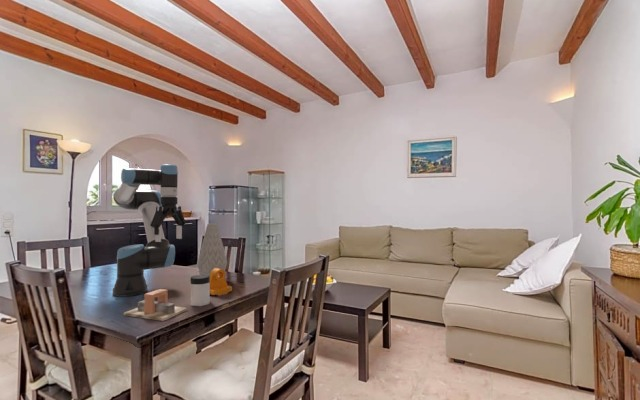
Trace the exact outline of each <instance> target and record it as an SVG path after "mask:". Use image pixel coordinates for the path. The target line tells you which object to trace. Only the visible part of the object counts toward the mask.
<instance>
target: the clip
mask: <svg viewBox="0 0 640 400" xmlns="http://www.w3.org/2000/svg"><path fill="white" fill-rule="evenodd" d="M168 293H169V291H168V289H163V288H159V289H156V290H152V291H150V292H147V293H146V292H145V293H143V294H144V299H143V300H144V313H149V314H153V313H155V301H156V299H157V302H164V303H169V301H168V300H169V299H168V298H169V297H168V296H169V295H168Z"/></svg>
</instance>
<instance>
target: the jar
mask: <svg viewBox="0 0 640 400" xmlns="http://www.w3.org/2000/svg"><path fill="white" fill-rule="evenodd" d="M189 280H190V306H192V307H203V306H207V305H210V304H211V303H210V301H211V299H210V297H211V296H210V295H211V294H210V276H209V275H200V274H196V275H192V276H190V279H189Z"/></svg>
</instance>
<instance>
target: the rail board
mask: <svg viewBox="0 0 640 400" xmlns="http://www.w3.org/2000/svg"><path fill="white" fill-rule="evenodd" d="M187 311H188V307H182V306H176V304H175V303H170V302H168V303H164V302H158V301H156V300H155V313H153V314H149V313H144V299H143V300H140V301H138V302H137V307H135V308H133V309H130V310H127V311H125V312H123V316H127V317H134V318H139V319H147V320H155V321H162V322H164V321H166V320H169V319H171V318H173V317H176V316H178V315H180V314H182V313H184V312H187Z"/></svg>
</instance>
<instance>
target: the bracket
mask: <svg viewBox="0 0 640 400" xmlns="http://www.w3.org/2000/svg"><path fill="white" fill-rule="evenodd" d="M218 273H219V274H218ZM229 292H233V287H232V286H231V285H228V283H227V280H226V270H225V271H224V270H222V269H219V268H214V269H213V270H212V271H211V274H210V295H211V296H215V295H216V296H217V295H219V296H223V295H226V294H227V293H228V294H229ZM222 294H223V295H222ZM228 294H227V295H228Z"/></svg>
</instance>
